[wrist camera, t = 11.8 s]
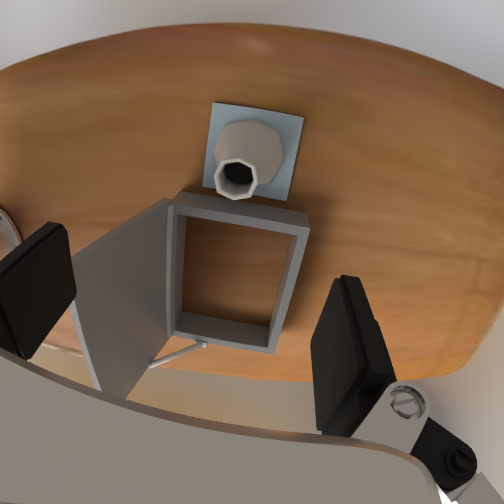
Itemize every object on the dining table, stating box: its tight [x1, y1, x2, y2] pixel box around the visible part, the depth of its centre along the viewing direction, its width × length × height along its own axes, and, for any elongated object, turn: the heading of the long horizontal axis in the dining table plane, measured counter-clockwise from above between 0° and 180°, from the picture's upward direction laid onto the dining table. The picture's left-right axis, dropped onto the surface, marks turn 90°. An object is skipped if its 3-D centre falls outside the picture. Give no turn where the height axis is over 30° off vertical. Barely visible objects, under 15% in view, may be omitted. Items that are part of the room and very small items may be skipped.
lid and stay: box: [69, 198, 207, 399], centre depth 28 cm, size 9×19×15 cm, turn 171°
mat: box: [202, 103, 304, 201], centre depth 30 cm, size 9×9×1 cm
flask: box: [213, 118, 284, 200], centre depth 25 cm, size 7×7×10 cm
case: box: [166, 191, 311, 354], centre depth 35 cm, size 15×18×5 cm
